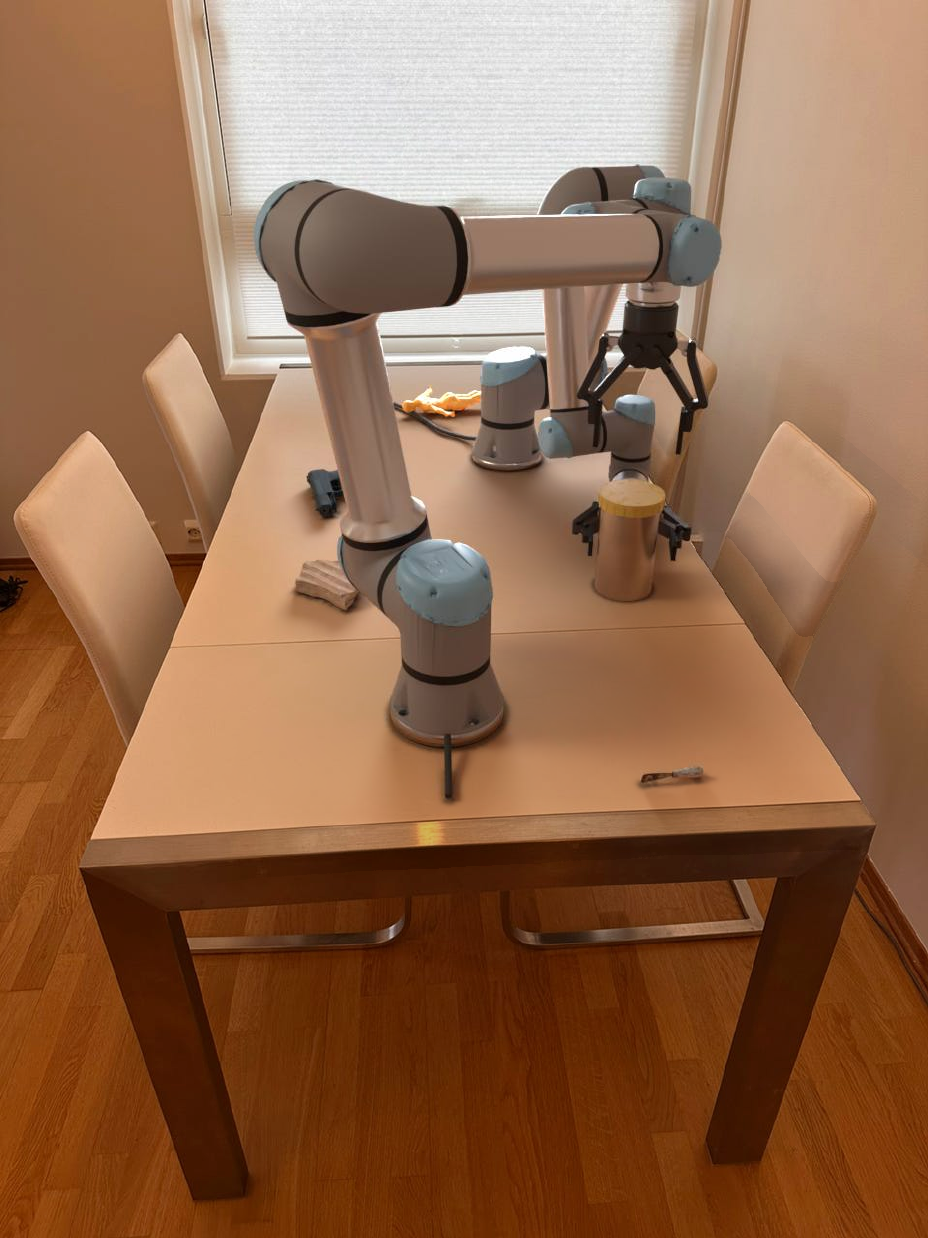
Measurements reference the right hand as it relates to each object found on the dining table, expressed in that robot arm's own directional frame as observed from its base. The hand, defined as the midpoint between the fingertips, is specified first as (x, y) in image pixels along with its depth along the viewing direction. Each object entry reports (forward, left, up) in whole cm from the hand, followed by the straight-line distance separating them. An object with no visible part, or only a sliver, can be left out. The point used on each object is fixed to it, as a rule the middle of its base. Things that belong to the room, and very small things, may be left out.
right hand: (632, 551), depth 147 cm
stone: (-12, -48, -6) cm, 50 cm away
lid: (+1, -1, +11) cm, 11 cm away
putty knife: (+46, -16, -6) cm, 49 cm away
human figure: (-94, -4, -6) cm, 94 cm away
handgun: (-49, -40, -6) cm, 64 cm away
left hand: (+1, -1, +18) cm, 18 cm away
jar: (+1, -1, -6) cm, 6 cm away
